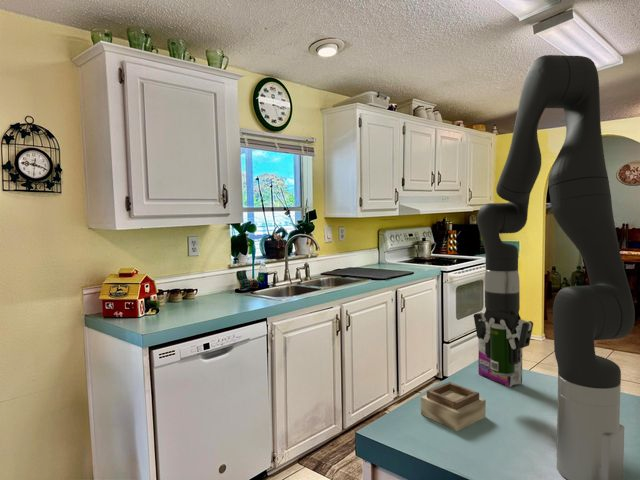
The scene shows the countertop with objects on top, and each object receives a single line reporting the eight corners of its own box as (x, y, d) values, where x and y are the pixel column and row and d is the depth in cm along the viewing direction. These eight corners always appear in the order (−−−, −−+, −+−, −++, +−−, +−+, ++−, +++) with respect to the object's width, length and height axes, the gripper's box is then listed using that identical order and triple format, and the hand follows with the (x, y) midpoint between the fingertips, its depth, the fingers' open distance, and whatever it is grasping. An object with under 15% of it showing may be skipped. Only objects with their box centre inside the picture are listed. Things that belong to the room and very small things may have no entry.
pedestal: (485, 417, 98) (485, 393, 98) (457, 431, 92) (457, 405, 92) (448, 401, 106) (448, 379, 106) (420, 414, 100) (420, 390, 100)
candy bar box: (523, 384, 115) (524, 323, 114) (509, 388, 113) (510, 326, 112) (490, 370, 125) (490, 314, 124) (477, 374, 123) (477, 316, 122)
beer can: (506, 378, 99) (505, 326, 98) (485, 372, 103) (484, 321, 103) (519, 373, 102) (519, 322, 101) (499, 367, 106) (498, 318, 106)
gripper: (540, 290, 98) (541, 365, 99) (483, 284, 110) (484, 350, 111) (523, 295, 94) (523, 372, 95) (465, 287, 105) (466, 356, 106)
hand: (502, 360), depth 103 cm, fingers closed on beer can, 5 cm apart
